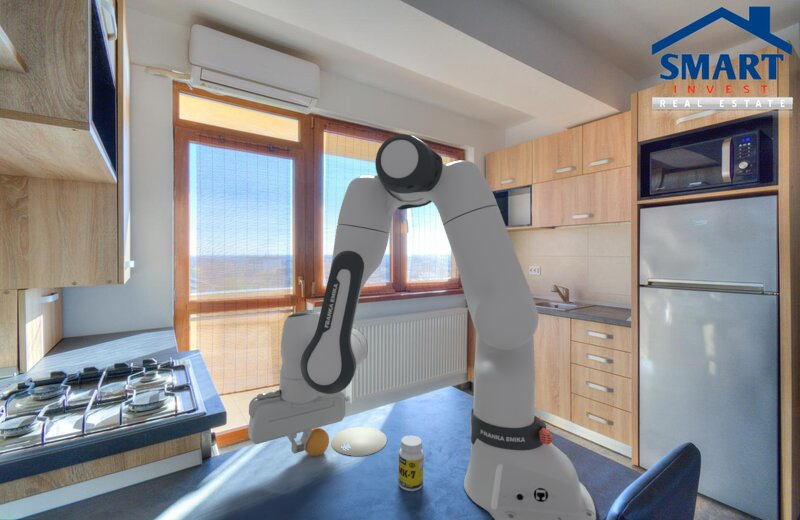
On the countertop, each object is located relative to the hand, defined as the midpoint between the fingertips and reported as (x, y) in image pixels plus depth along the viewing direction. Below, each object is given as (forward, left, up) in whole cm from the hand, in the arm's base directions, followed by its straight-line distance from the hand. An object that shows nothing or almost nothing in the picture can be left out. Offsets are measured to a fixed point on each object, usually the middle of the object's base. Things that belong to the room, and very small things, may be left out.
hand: (298, 450), depth 74 cm
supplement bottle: (-25, +1, -2) cm, 25 cm away
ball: (-2, -3, +1) cm, 4 cm away
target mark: (-10, -11, -2) cm, 15 cm away
